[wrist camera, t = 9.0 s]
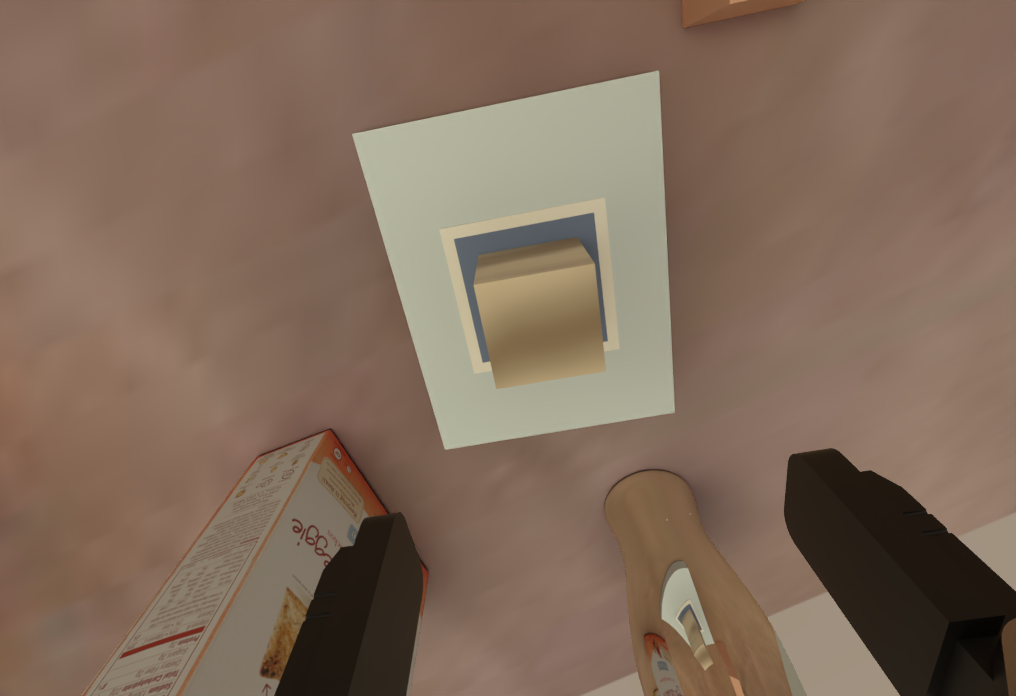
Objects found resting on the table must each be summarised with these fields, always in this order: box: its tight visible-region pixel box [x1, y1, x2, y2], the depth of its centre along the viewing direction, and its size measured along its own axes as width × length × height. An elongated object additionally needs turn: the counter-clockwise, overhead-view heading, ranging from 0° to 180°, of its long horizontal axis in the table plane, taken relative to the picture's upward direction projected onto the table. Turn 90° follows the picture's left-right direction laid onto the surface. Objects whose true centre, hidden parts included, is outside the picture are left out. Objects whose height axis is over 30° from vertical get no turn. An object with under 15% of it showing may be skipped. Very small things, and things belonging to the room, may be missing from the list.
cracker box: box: [81, 430, 428, 696], centre depth 24 cm, size 14×6×21 cm, turn 22°
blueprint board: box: [352, 71, 675, 450], centre depth 26 cm, size 18×14×1 cm
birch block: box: [474, 237, 606, 389], centre depth 23 cm, size 5×5×5 cm
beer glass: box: [604, 470, 807, 696], centre depth 27 cm, size 7×7×15 cm
